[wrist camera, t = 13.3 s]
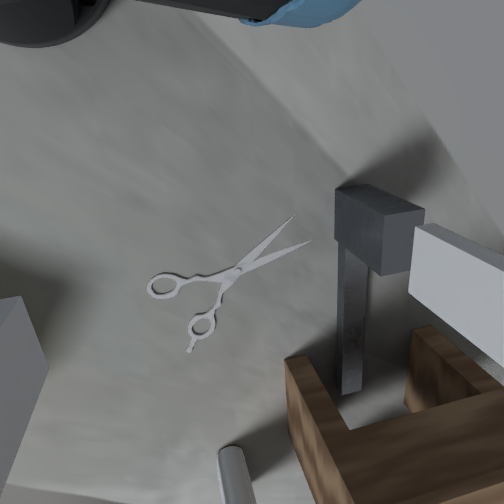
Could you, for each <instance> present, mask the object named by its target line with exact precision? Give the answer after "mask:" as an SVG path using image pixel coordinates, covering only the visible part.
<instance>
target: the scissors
mask: <svg viewBox="0 0 504 504" xmlns="http://www.w3.org/2000/svg"><path fill="white" fill-rule="evenodd" d="M293 216H294V215H293ZM293 216H292V217H293ZM292 217H291V218H292ZM291 218H290V219H291ZM290 219H288V220H287V221H286V222H285V223H284V224H282V225H281V226H280V227H279V228H278V229H276V230H275V231H274V232H273V233H271V234H270V235H269V236H268V237H267V238H265V239H264V240H263V241H262V242H261V243H259V244H258V245H257V246H256V247H255V248H254V249H252V250H251V251H250V252H249V253H248V254H247V255H246V256H245V257H243V258H242V259H241V260H240V261H239V262H238V263H237V264H236V265H235V266H234V267H231V268H228V269H226V270H223V271H221V272H219V273H216V274H213V275H210V276H207V277H201V276H198V275H195V276H193V277H190V278H188V279H185V278H181V277H178V276H176V275H174V274H168V273H162V274H158V275H156V276H154V277H153V278H151V280H150V281H149V283H148V285H147V291H148V293H149V294H150V295H151V296H152V297H154V298H157V299H166V298H171V297H173V296H176V295H177V293H178V291H179V289H180V288H181V286H182V285H186V284H188V283H189V282H191V281H211V282H222V283H221V287H220V290H219V293H218V297H217V300H216V302H215V304H214V306H213V307H212V308H211V309H209V310H208V311H207V312H205V313H202V314H195V315H194V316H193V317H192V318H191V320H190V322H189V325H188V333H189V335H190V336H191V337H192V339H191V342H190V345H189V346H188V347H187V348H186V352H187V353H190V352H192V348H193V346H194V344H195V342H196V340H197V339H203V338H205V337H208V336H209V335H210V334H211V333H212V332H213V331H214V328H215V319H214V313H215V309H217V308H218V307H219V306H220V305H221V297H222V294H223V293H224V292H225V291H226V290H227V289H228V288H229V287H230V286H231V285H232V284H233V283H234V282H235V281H236V280H237V279H238V277H239V276H240V275H241V274H243V273H246V272H248V271H250V270H253V269H255V268H257V267H259V266H262V265H264V264H266V263H268V262H270V261H272V260H274V259H276V258H278V257H280V256H282V255H284V254H286V253H288V252H290V251H292V250H295V249H297V248H299V247H301V246H303V245H304V244H306V243H308V242H310V241H311V240H310V241H307V242H304V243H301V244H298V245H295V246H292V247H289V248H286V249H283V250H280V251H277V252H274V253H272V254H269V255H267V256H264V257H261V258H259V259H258V260H256V261H254V260H255V259H256V257H257V256H258V255H259V254H260V253H261V252H262V251H263V250H264V249H265V248H266V247H267V245H268V244H269V243H270V242H271V241H272V240H273V239H274V238H275V236H276V235H277V234H278V233H279V232H280V231H281V230H282V229H283V227H284V226H285V225H286V224H287V223H288V222H289V221H290ZM253 261H254V262H253ZM161 277H166V278H172V279H173V280H174V281H175V282H176V286H175V288H174V289H173V290H172V291H169V292H167V293H165V294H156V293H155V292H154V291H153V290H152V288H151V285H152V284H153V282H154V281H155V280H157V279H159V278H161ZM201 318H208V319H209V320H210V322H211V326H210V328H209V329H208V330H207V331H206V332H205V333H203V334H194V332H193V331H192V326H193V324H194V323H195V322H196V321H198V320H199V319H201Z"/></svg>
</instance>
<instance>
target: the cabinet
mask: <svg viewBox="0 0 504 504" xmlns="http://www.w3.org/2000/svg"><path fill="white" fill-rule="evenodd" d="M284 362H285V380H286V397H287V414H288V432H289V437H290V439H291V442H292V444H293V447H294V449H295V452H296V455H297V457H298V460H299V462H300V465H301V467H302V470H303V472H304V475H305V477H306V480H307V483H308V485H309V488H310V490H311V493H312V495H313V498H314V500H315V503H316V504H504V386H503V385H501V384H500V383H499V382H498V381H497V380H495V379H494V378H493V377H492V376H491V375H489V374H488V373H487V372H486V371H485V370H484V369H482V368H481V367H480V366H479V365H478V364H476V363H475V362H474V361H473V360H472V359H470V358H469V357H468V356H467V355H466V354H464V353H463V352H462V351H461V350H460V349H459V348H457V347H456V346H455V345H454V344H453V343H451V342H450V341H449V340H448V339H447V338H445V337H444V336H443V335H442V334H441V333H439V332H438V331H437V330H436V329H435V328H434V327H432V326H427V327H422V328H418V329H414V330H412V338H411V346H410V355H409V364H408V372H407V381H406V389H405V398H404V404H405V405H406V407H407V408H408V409H409V410H410V412H411V414H407V415H404V416H400V417H396V418H393V419H389V420H386V421H382V422H378V423H375V424H371V425H368V426H364V427H360V428H357V429H353V430H349V428H348V427H347V425H346V423H345V422H344V420H343V418H342V416H341V415H340V413H339V411H338V409H337V408H336V406H335V404H334V403H333V401H332V399H331V397H330V396H329V394H328V392H327V390H326V389H325V387H324V385H323V384H322V382H321V380H320V378H319V377H318V375H317V373H316V371H315V370H314V368H313V366H312V364H311V363H310V361H309V359H308V358H307V356H306V355H302V356H297V357H293V358H289V359H284Z"/></svg>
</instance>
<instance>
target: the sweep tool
mask: <svg viewBox="0 0 504 504" xmlns="http://www.w3.org/2000/svg"><path fill="white" fill-rule="evenodd" d="M424 216H425V209H424V208H422V207H420V206H417V205H415V204H413V203H410V202H408V201H406V200H403V199H401V198H399V197H396V196H394V195H392V194H389V193H387V192H385V191H382V190H380V189H378V188H375V187H373V186H371V185H368V184H366V185H359V186H353V187H346V188H339V189H335V237H334V239H335V240H336V241H338V297H337V361H336V387H337V389H338V390H339V392H340V393H341V395H345V394H349V393H353V392H357V391H361V390H362V371H363V352H364V333H365V314H366V295H367V276H368V266H369V267H370V268H371V269H372V270H373V271H375V272H376V273H377V274H378V275H380V276H384V275H389V274H394V273H399V272H405V271H410V270H411V261H412V252H413V242H414V233H415V226H420V225H423V224H424Z"/></svg>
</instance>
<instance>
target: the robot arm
mask: <svg viewBox="0 0 504 504" xmlns="http://www.w3.org/2000/svg"><path fill="white" fill-rule="evenodd" d="M136 1H142V2H147V3H153V4H158V5H164V6H170V7H175V8H181V9H187V10H192V11H198V12H204V13H209V14H215V15H221V16H226V17H232V18H237V19H239V20H240V22H241V23H243V24H246V25H250V26H263V25H269V24H276V25H284V26H292V27H300V28H313V27H317V26H320V25H322V24H325V23H328V22H331V21H333V20H335V19H338V18H340V17H341V16H343V15H344V14H345V13H347V12H348V11H349V10H351V9H352V8H353V7H354V6H355V5H357V4H358V3H359V2H360V1H361V0H136ZM108 2H109V0H0V42H1V43H5V44H8V45H13V46H18V47H26V48H43V47H50V46H56V45H59V44H63V43H65V42H68V41H70V40H72V39H74V38H76V37H78V36H79V35H81V34H82V33H84V32H85V31H86V30H88V29H89V28H90V27H91V26H92V25H93V24H94V23H95V22H96V21H97V19H98V18H99V17H100V16H101V14H102V12H103V11H104V9H105V8H106V6H107V4H108ZM408 293H409V294H411V295H412V296H413V297H415V298H416V299H417V300H418V301H420V302H421V303H422V304H423V305H425V306H426V307H427V308H429V309H430V310H431V311H432V312H434V313H435V314H436V315H437V316H439V317H440V318H441V319H443V320H444V321H445V322H446V323H448V324H449V325H450V326H451V327H453V328H454V329H455V330H456V331H458V332H459V333H460V334H462V335H463V336H464V337H465V338H467V339H468V340H469V341H470V342H472V343H473V344H474V345H476V346H477V347H478V348H479V349H481V350H482V351H483V352H484V353H486V354H487V355H488V356H490V357H491V358H492V359H493V360H495V361H496V362H497V363H498V364H500V365H501V366H502V367H504V256H503V255H501V254H499V253H497V252H495V251H493V250H491V249H488V248H486V247H484V246H482V245H480V244H478V243H476V242H473V241H471V240H469V239H467V238H465V237H463V236H460V235H458V234H456V233H454V232H452V231H450V230H448V229H445V228H443V227H441V226H439V225H437V224H435V223H432V224H426V225H420V226H415V233H414V242H413V252H412V261H411V270H410V280H409V289H408ZM48 370H49V366H48V363H47V361H46V358H45V356H44V353H43V351H42V348H41V345H40V343H39V340H38V338H37V335H36V333H35V330H34V327H33V325H32V322H31V320H30V317H29V315H28V312H27V309H26V307H25V304H24V302H23V299H22V297H21V296H15V297H9V298H4V299H0V496H1V493H2V491H3V488H4V486H5V483H6V480H7V478H8V475H9V472H10V470H11V467H12V465H13V462H14V459H15V457H16V454H17V452H18V449H19V446H20V444H21V441H22V438H23V436H24V433H25V431H26V428H27V425H28V423H29V420H30V418H31V415H32V412H33V410H34V407H35V404H36V402H37V399H38V397H39V394H40V391H41V389H42V386H43V383H44V381H45V378H46V376H47V373H48Z"/></svg>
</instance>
